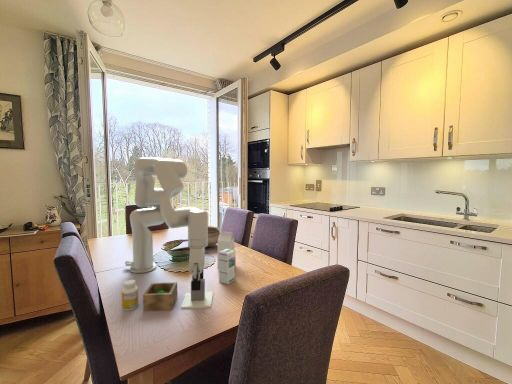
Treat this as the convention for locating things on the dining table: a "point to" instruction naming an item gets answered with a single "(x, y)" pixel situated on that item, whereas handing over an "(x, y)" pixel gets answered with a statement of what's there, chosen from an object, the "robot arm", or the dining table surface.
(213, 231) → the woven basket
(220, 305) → the dining table surface
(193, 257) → the robot arm
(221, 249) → the milk carton
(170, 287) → the box
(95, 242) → the dining table surface
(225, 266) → the syrup box
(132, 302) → the supplement bottle
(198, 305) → the lid
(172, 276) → the dining table surface
